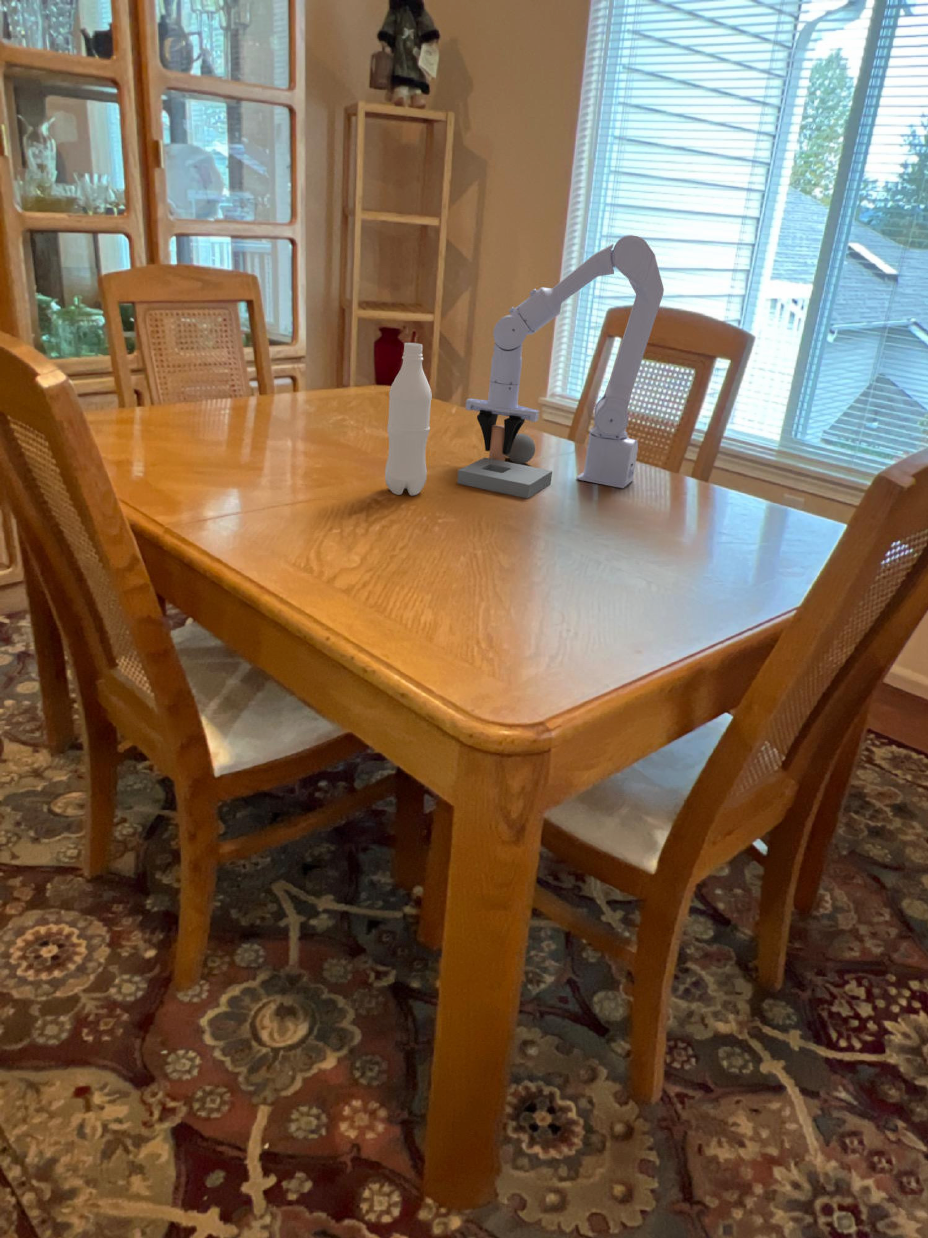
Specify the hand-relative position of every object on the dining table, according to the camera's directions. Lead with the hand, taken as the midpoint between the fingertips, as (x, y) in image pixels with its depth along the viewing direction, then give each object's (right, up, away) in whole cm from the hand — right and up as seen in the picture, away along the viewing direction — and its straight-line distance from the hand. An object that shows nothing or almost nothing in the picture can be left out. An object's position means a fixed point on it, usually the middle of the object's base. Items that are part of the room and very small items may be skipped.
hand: (497, 451), depth 175 cm
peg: (0, -3, +1) cm, 3 cm away
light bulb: (+1, +2, +10) cm, 10 cm away
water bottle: (-17, -11, -19) cm, 28 cm away
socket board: (+1, -8, -9) cm, 12 cm away
